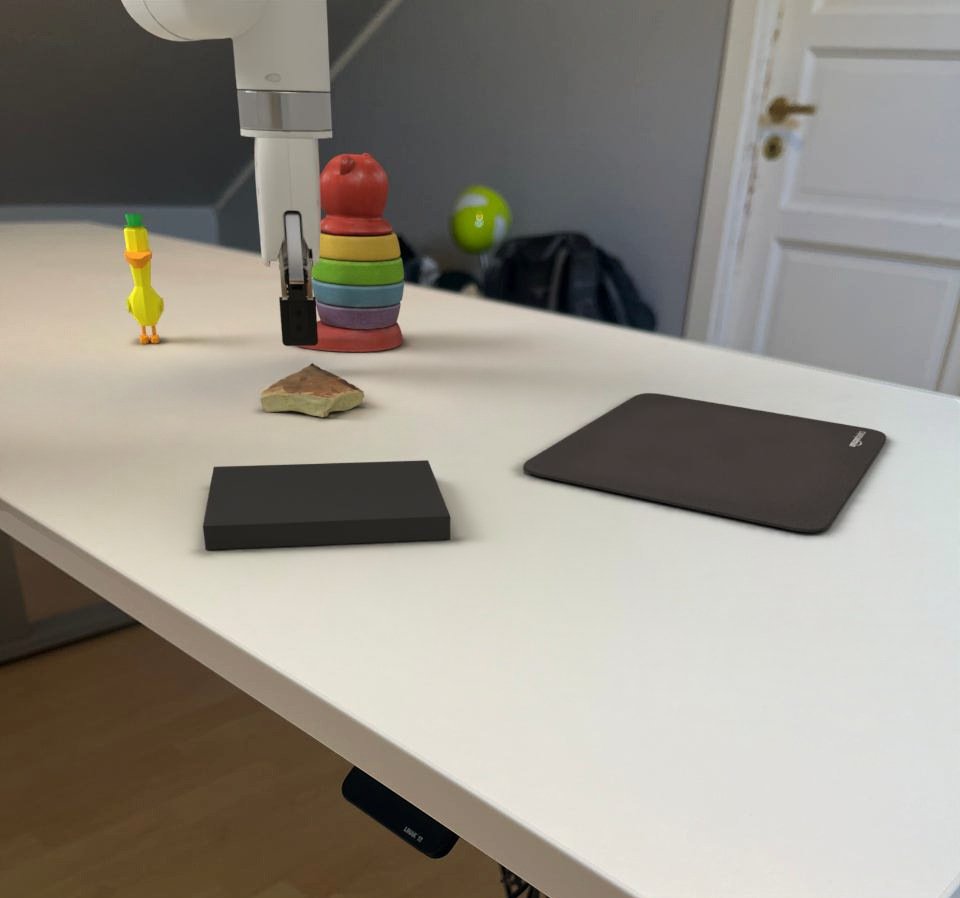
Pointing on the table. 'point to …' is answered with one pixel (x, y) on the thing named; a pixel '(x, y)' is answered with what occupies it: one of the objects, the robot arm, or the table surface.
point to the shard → (311, 393)
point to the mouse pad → (717, 459)
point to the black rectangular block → (324, 505)
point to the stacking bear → (356, 260)
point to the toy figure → (141, 278)
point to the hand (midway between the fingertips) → (300, 343)
